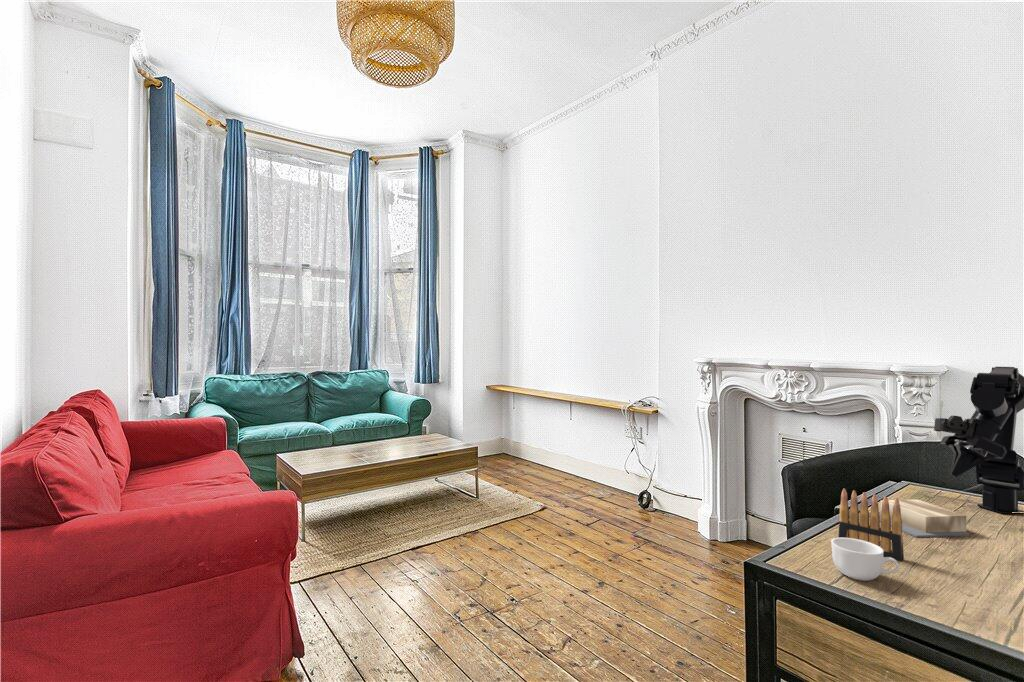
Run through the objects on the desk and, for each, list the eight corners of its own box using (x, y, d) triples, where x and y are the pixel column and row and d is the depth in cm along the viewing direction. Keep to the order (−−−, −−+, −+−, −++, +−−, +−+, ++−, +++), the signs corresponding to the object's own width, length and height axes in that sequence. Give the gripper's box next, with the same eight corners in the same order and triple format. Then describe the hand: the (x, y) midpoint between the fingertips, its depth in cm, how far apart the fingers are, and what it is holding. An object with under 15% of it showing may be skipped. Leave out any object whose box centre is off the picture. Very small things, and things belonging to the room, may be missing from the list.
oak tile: (917, 499, 123) (880, 500, 122) (966, 515, 111) (925, 516, 110) (917, 513, 123) (880, 514, 122) (966, 531, 111) (925, 532, 110)
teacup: (828, 576, 89) (828, 546, 89) (833, 562, 95) (833, 534, 95) (899, 593, 83) (899, 561, 83) (899, 577, 89) (899, 547, 89)
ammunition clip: (837, 545, 103) (837, 488, 103) (840, 543, 104) (840, 486, 104) (902, 562, 95) (902, 500, 95) (903, 559, 96) (903, 498, 97)
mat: (909, 513, 124) (909, 511, 124) (970, 535, 109) (969, 534, 109) (861, 514, 123) (861, 512, 123) (916, 537, 108) (916, 535, 108)
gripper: (934, 405, 132) (903, 455, 133) (966, 402, 115) (930, 459, 116) (983, 428, 128) (951, 479, 128) (1023, 427, 111) (986, 486, 111)
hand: (953, 475), depth 121 cm, fingers closed
